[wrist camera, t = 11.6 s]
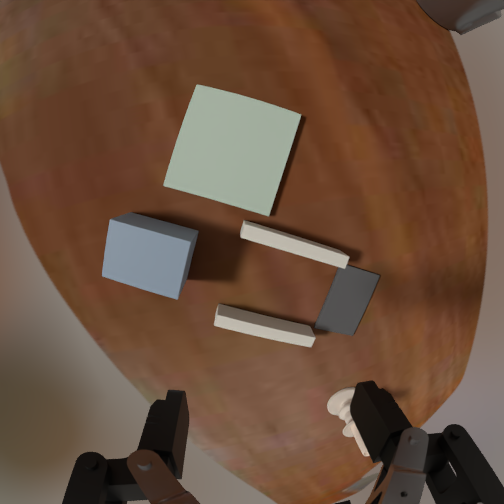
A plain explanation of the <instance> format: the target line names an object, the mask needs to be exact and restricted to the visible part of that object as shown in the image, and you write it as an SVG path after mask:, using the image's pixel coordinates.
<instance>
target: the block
mask: <svg viewBox="0 0 504 504" xmlns="http://www.w3.org/2000/svg"><path fill="white" fill-rule="evenodd" d="M198 232H199V231H198V230H194V229H190V228H187V227H183V226H179V225H176V224H172V223H169V222H165V221H161V220H157V219H154V218H150V217H146V216H143V215H139V214H135V213H132V212H130V213H127V214H124V215H121V216H118V217H115V218H112V219H110V222H109V228H108V234H107V241H106V247H105V255H104V263H103V271H102V276H103V277H106V278H109V279H112V280H115V281H118V282H121V283H125V284H128V285H131V286H134V287H137V288H140V289H144V290H147V291H150V292H153V293H157V294H160V295H163V296H167V297H170V298H174V299H177V300H178V297H179V295H180V293H181V291H182V289H183V287H184V284H185V282H186V280H187V277H188V272H189V268H190V264H191V260H192V256H193V252H194V248H195V244H196V240H197V236H198Z"/></svg>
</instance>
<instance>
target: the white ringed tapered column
mask: <svg viewBox="0 0 504 504" xmlns="http://www.w3.org/2000/svg"><path fill="white" fill-rule="evenodd" d="M354 391H355V387H349V388H345V389H342V390H340V391H338V392H337V393H335V394H334V395H333V396H332V397H331V398H330V400H329V401H328V404H327V408H328V410H329V412H330V413H331V414H333V415H339V417H340V419H342V420H345V422H346V424H347V425H346V426H345V427H344V429H343V434H344V435H345V436H347V437H353V436H354V437H355V439H356V442H357V444H358V446H359V448H360V450H361V452H362V454H363V455H364V456H370V455H369V453H368V451H367V448H366V446H365V444H364V442H363V440H362V438H361V436H360V434H359V431H358V429H357V427H356V425H355V423H354V421H353V419H352V417H351V414H350V404H351V401H352V398H353V395H354Z"/></svg>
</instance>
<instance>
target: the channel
mask: <svg viewBox="0 0 504 504" xmlns="http://www.w3.org/2000/svg"><path fill="white" fill-rule="evenodd" d="M240 236H241V238H244V239H247V240H250V241H254V242H257V243H261V244H264V245H267V246H271V247H274V248H277V249H281V250H284V251H287V252H291V253H294V254H297V255H301V256H304V257H307V258H311V259H314V260H317V261H321V262H324V263H327V264H330V265H334V266H337V267H338V270H337V272H336V275H335V278H334V280H333V283H332V285H331V288H330V290H329V292H328V295H327V297H326V300H325V302H324V304H323V307H322V309H321V311H320V314H319V316H318V318H317V321H316V323H315V325H314V328H317V329H322V330H326V331H331V332H336V333H341V334H346V335H352V336H353V334H354V332H355V330H356V328H357V326H358V324H359V322H360V320H361V318H362V316H363V313H364V311H365V309H366V307H367V305H368V302H369V300H370V298H371V296H372V293H373V291H374V289H375V286H376V284H377V281H378V279H379V277H380V275H378V274H374V273H371V272H368V271H365V270H362V269H359V268H356V267H352V266H349V265H347V262H348V260H349V256H348V255H346V254H345V253H343V252H342V251H341V250H338V249H335V248H332V247H329V246H326V245H322V244H319V243H316V242H313V241H310V240H307V239H304V238H301V237H297V236H294V235H291V234H288V233H285V232H281V231H278V230H275V229H272V228H269V227H265V226H262V225H259V224H255V223H252V222H249V221H245V220H244V222H243V225H242V228H241V231H240ZM214 326H218V327H222V328H226V329H230V330H234V331H238V332H242V333H246V334H250V335H254V336H259V337H263V338H268V339H272V340H277V341H282V342H287V343H291V344H296V345H302V346H307V347H311V346H312V344H313V342H314V340H315V338H316V337H315V335H314V333H313V331H312V329H311V327H310V326H308V325H304V324H299V323H295V322H291V321H286V320H282V319H278V318H273V317H269V316H265V315H261V314H257V313H253V312H249V311H245V310H241V309H237V308H234V307H230V306H226V305H222V304H218V307H217V311H216V315H215V322H214Z"/></svg>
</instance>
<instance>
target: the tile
mask: <svg viewBox="0 0 504 504" xmlns="http://www.w3.org/2000/svg"><path fill="white" fill-rule="evenodd" d="M300 118H301V114H298V113H295V112H292V111H290V110H287V109H284V108H281V107H278V106H275V105H272V104H269V103H266V102H262V101H259V100H256V99H252V98H249V97H245V96H242V95H238V94H235V93H231V92H227V91H223V90H219V89H215V88H211V87H206V86H202V85H197V86H196V88H195V91H194V93H193V96H192V99H191V101H190V104H189V107H188V109H187V112H186V115H185V118H184V121H183V124H182V126H181V129H180V132H179V135H178V138H177V142H176V145H175V148H174V151H173V154H172V157H171V161H170V164H169V167H168V171H167V174H166V178H165V181H164V185H163V186H166V187H170V188H173V189H177V190H181V191H184V192H188V193H191V194H195V195H199V196H202V197H206V198H209V199H213V200H216V201H219V202H223V203H226V204H230V205H233V206H236V207H240V208H243V209H246V210H250V211H253V212H256V213H260V214H263V215H266V216H269V214H270V211H271V208H272V205H273V202H274V199H275V196H276V193H277V190H278V187H279V183H280V180H281V177H282V174H283V171H284V168H285V165H286V162H287V159H288V155H289V152H290V149H291V146H292V143H293V140H294V137H295V134H296V130H297V127H298V124H299V121H300Z"/></svg>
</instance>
